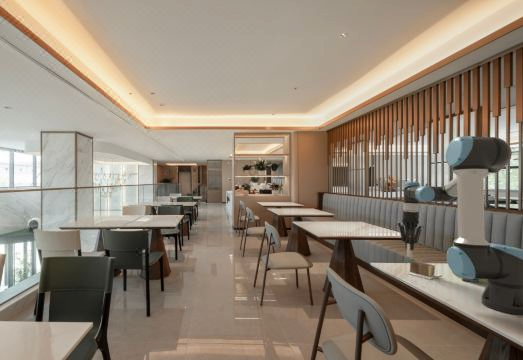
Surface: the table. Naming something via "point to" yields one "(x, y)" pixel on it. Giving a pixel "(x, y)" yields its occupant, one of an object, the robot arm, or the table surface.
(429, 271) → the bronze block
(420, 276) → the grey mat
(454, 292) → the table surface
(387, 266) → the table surface
